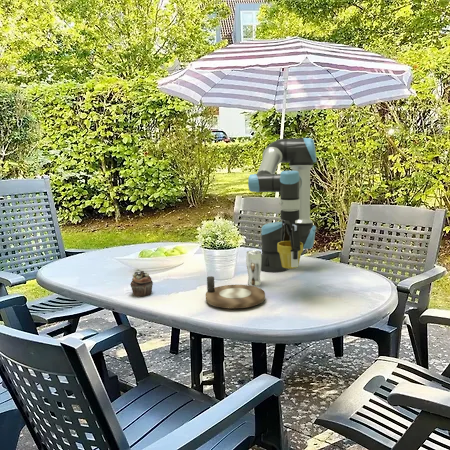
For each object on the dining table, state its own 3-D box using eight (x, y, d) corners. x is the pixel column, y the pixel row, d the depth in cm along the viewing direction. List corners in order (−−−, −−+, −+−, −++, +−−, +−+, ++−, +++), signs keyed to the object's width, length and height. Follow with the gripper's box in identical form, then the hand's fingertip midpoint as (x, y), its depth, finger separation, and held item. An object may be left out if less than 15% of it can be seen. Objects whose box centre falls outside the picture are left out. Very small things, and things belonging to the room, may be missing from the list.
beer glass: (244, 283, 217) (243, 251, 214) (257, 281, 220) (257, 249, 217) (250, 287, 211) (250, 254, 208) (264, 285, 213) (264, 252, 211)
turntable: (256, 287, 207) (256, 269, 206) (272, 305, 184) (271, 285, 182) (201, 291, 203) (201, 273, 201) (210, 310, 179) (210, 290, 178)
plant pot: (302, 270, 189) (302, 246, 187) (276, 269, 191) (276, 246, 189) (303, 263, 199) (303, 240, 197) (278, 262, 201) (278, 240, 199)
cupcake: (158, 293, 206) (156, 271, 204) (139, 299, 199) (138, 275, 198) (144, 289, 213) (143, 267, 211) (126, 294, 206) (125, 272, 204)
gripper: (272, 206, 201) (273, 257, 205) (290, 214, 179) (290, 271, 183) (289, 205, 202) (290, 255, 206) (309, 213, 180) (309, 270, 184)
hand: (290, 263), depth 194 cm, fingers closed on plant pot, 10 cm apart
